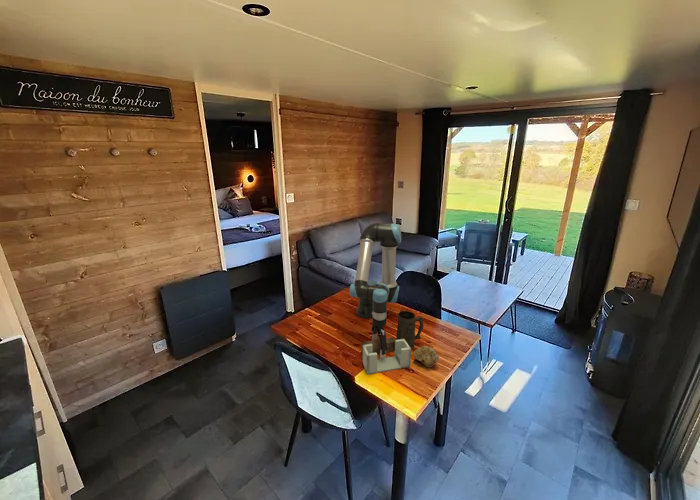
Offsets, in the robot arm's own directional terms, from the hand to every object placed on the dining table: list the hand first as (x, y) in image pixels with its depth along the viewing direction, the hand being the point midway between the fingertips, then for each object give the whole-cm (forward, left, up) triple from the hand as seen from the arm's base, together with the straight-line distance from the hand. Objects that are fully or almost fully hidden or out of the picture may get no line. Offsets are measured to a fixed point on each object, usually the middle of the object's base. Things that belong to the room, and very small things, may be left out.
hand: (378, 351), depth 167 cm
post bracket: (+12, 0, 0) cm, 12 cm away
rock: (+16, +20, 0) cm, 26 cm away
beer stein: (-2, +19, 0) cm, 19 cm away
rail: (0, 0, 0) cm, 0 cm away
